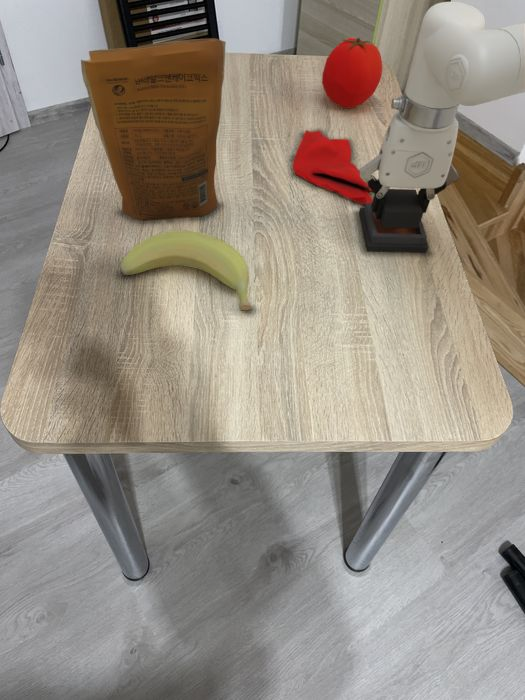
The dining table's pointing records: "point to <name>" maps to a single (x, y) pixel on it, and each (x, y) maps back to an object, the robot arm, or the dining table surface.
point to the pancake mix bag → (160, 123)
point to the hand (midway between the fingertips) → (397, 213)
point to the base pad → (390, 235)
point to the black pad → (401, 209)
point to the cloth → (330, 166)
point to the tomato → (352, 72)
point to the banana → (191, 258)
